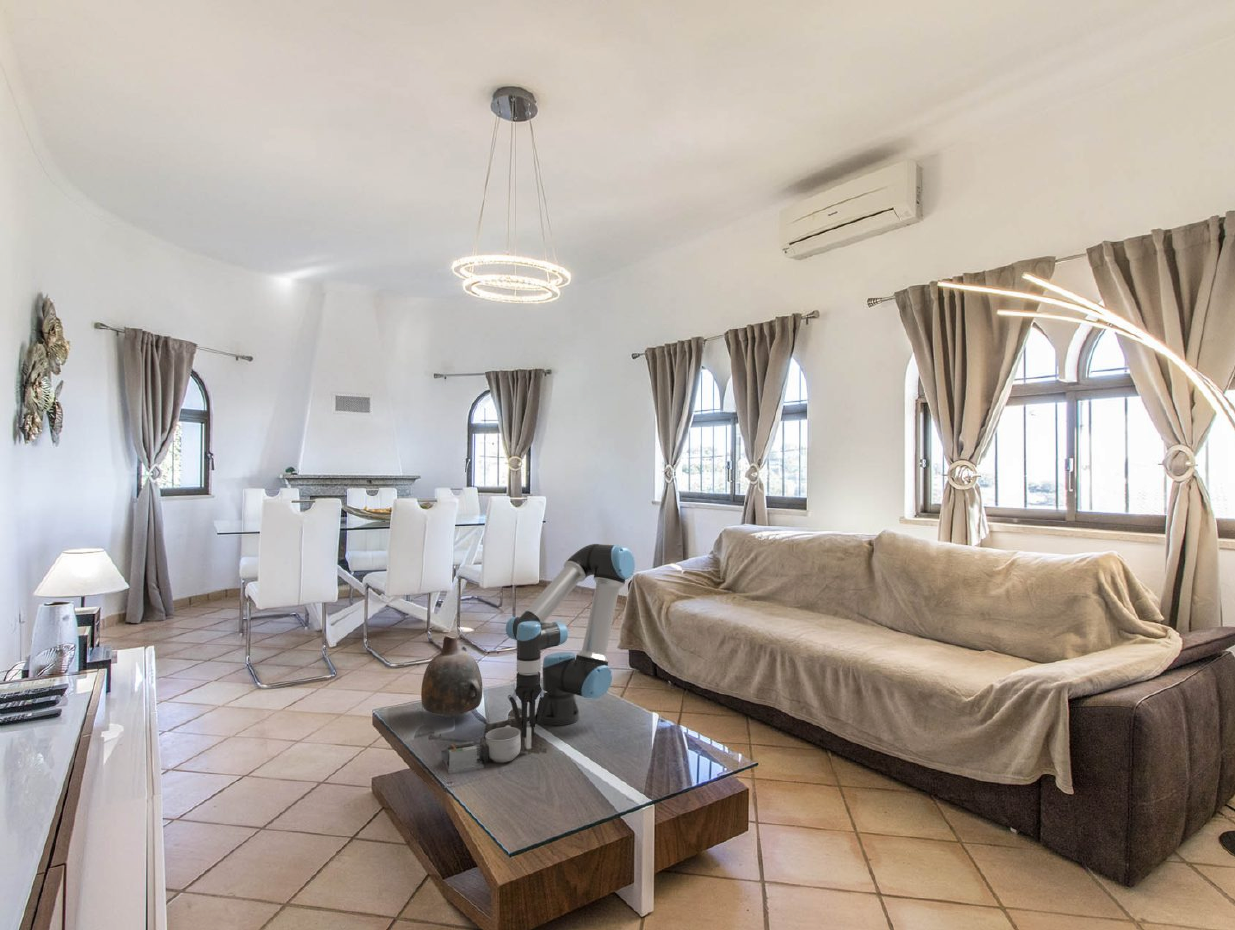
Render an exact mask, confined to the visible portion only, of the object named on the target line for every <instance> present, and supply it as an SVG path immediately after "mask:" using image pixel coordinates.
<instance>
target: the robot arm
mask: <svg viewBox="0 0 1235 930" xmlns="http://www.w3.org/2000/svg"><path fill="white" fill-rule="evenodd" d="M635 564H636V562H635V557H634V556H633V553H632V551H631V550H630V549H629V548H628V547H626V546H621V545H617V544H616V545H615V544H614V545H613V544H600V543H592V544H589V545H586V546H584V547H582V548H580V549H579V550H576V551H575V553H574V554H572V555H570V557H569V558H568V559H567V560H566V561H565V563H564V564H563V568H562V569H561V570H560V572H559V573H558V574H557V575H556V577H554V579H553V580H551V582H550V583H549V584H548V585H547V586H546V587H545V589H544V590H543V591H542V592H541V593H540V594H539V595H538V596H537V597H536V598H535V600H534V601H533V602H532V603H531V604H530V605H529V606H528V607H527V609H526V610H525V611H524V612H523V613H522V614H521V616H512V617H510V618H509V619H508V621H507V622H506V626H505V634H506V635H507V637H508V638H510V639H512V640H514V641H516V671H517V672H516V680H515V681H516V685H515V686H516V687H515V689H514V692H513V693H512V694H509V695H508V696H507V699H508V700H509V702H510V703H511V708H512V713H513V716H514V720H515V721H514V722H515V724H516V726H517V728H519V727H521V737H522V739H524V748H526V750H531V749H532V737H534V736H535V728H536V725H540V724H541V723H542V724H545V725H549V726H564V725H565V726H566V725H571V724H573V723H576V722H577V721H578V720H579V719H580V710H579V705H578V702H577V700H576V697H575V696H580V697H583V698H584V699H592V700H598V699H601V698H602V697H604V696H605V694H607V693H608V691H609V689H610V687H611V685H612V682H613V674H612V672H613V671H612V669H611V668H610V667H609V660H608V658H607V655H606V654H607V648H608V646H609V642H610V641H609V640H610V635H611V630H612V625H613V620H614V616H615V611H616V607H617V601H618V596H619V592H620V589H621V588H622V587H624V586H625V583H626V580H629V579H631V577H632V576H633V575H634V572H635V568H636V567H635V566H636V565H635ZM590 576H593V580H594V581H595V583H596V584H595V589H594V593H593V596H592V597H593V598H592V602H591V603H592V604H591V608H590V611H589V616H588V620H587V626H586V629H585V630H586V631H585V633H584V634H585V635H584V639H583V644H582V649H581V650H580V651H579V652H578V653H576V655H575V652H572V651H562V652H555V653H550V654H547V655H546V656H544V658H543V660H542V661H543V662H542V667H541V653H542V651H543V650H546V649H551V648H554V647H559V646H560V645H561V646H562V645H564V644H565V643H566V641H567V640H568V637H569V630H568V628H567V625H566V624H565V623H563V622H561V621H554V622H551V623H550V622H546V621H547V619H548V618H549V617H550V616H551V615H552V614H553V612H555V610H556V609H557V608H558V607H559V606H560V604H562V602H563V601H564V600H565V599H566V598H567V596H568V595H569V594H570V593H571V592H572V591H573V589H574V588H575V587H576V586H577V585H578V584H579V583H581V582H584V581H585V580H586V578H587V577H590ZM541 668H542V669H541ZM541 670H542V686H541V672H540V671H541ZM517 697H518V699H519V700H520V703H521V708H520V709H521V713H520V712H519V708H518V705H517V700H518V699H517ZM538 697H539V700H538V703H537V708H536V700H537V699H538ZM528 703H529V704H528ZM528 705H529V706H528ZM528 708H529V709H528ZM520 714H521V717H520Z"/></svg>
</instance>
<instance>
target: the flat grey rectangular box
mask: <svg viewBox="0 0 1235 930" xmlns="http://www.w3.org/2000/svg"><path fill="white" fill-rule="evenodd" d="M452 745H455V747H456V751H454V749H452ZM471 746H472V747H471ZM476 746H477V745H475V742H474V740H471V741H465V742H464V741H463V742H455V743H451V744H446V750H449V760H445V761H444V765H445V766H446V769H447V772H448V774H456V773H462V772H469V771H475V770H481V769H484V763H483V761H482V759H481V757H480V755H479V756H477V747H476ZM464 747H465V748H464ZM450 749H451V750H450Z"/></svg>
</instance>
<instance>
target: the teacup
mask: <svg viewBox="0 0 1235 930" xmlns="http://www.w3.org/2000/svg"><path fill="white" fill-rule="evenodd" d="M521 735H522V730H521V729H520V728H518V727H513V726H511V725H504V726H503V727H502V726H501V727H497V728H494V729H491V730H489V731H488V732H486V733H485V735H484V737H485V738H484V739H485V742H486V744H487V745H488V758H489V759H490V760H492V761H493V762H495V763H501V764H502V763H508V762H509V763H510V762H511V761H513V760H514V759H515V758H516V757H517V756H518V755H519V754H520V751H521V747H522V745H521V744H522V740H521V737H522V736H521Z"/></svg>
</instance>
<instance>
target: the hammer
mask: <svg viewBox="0 0 1235 930" xmlns="http://www.w3.org/2000/svg"><path fill="white" fill-rule="evenodd" d="M478 740H479V743H478V744H479V745H475V746H476V747H477V756H479V757H480V759H481V761H482V763H483V764H488V762H489V760H488V759H489V756H488V745H487V744H486V739H485V738H484V737H480V738H479V739H478ZM471 747H472V746H471ZM464 748H465V747H464ZM452 749H454V751H456V747H455V745H452ZM450 750H451V749H450ZM440 760H441V762H445V760H449V750H447V749H446V750H441V751H440Z"/></svg>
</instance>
